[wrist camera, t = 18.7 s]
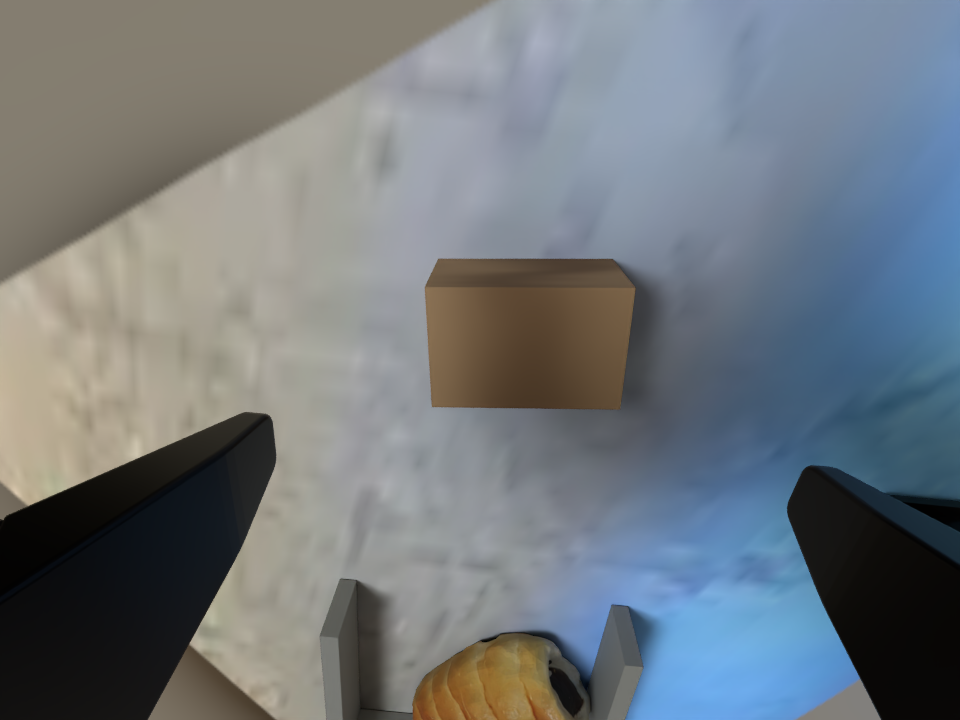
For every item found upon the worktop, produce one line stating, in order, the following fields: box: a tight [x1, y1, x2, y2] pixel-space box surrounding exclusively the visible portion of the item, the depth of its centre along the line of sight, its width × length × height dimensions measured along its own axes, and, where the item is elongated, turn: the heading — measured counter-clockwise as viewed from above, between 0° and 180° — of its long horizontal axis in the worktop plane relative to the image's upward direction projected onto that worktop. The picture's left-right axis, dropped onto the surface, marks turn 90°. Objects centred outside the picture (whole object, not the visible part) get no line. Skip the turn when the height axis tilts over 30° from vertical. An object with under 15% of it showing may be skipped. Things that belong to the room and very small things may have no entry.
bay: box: [320, 579, 643, 720], centre depth 25 cm, size 14×11×3 cm
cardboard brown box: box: [425, 259, 636, 409], centre depth 17 cm, size 6×4×4 cm, turn 91°
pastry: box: [412, 633, 591, 720], centre depth 26 cm, size 9×7×4 cm
